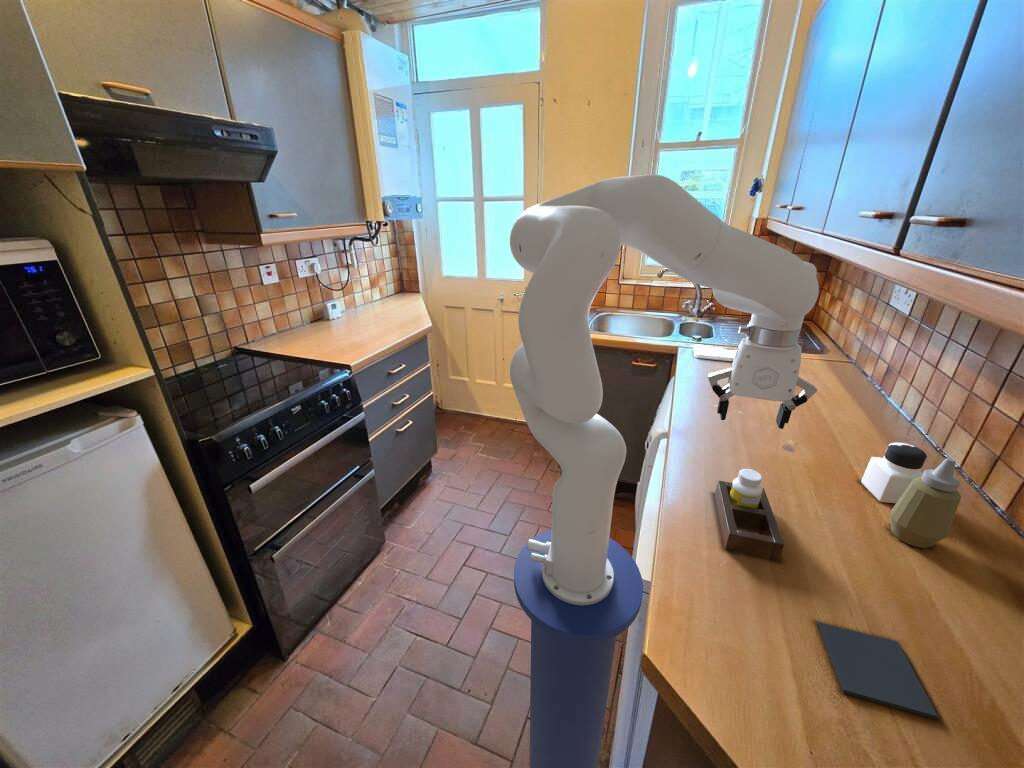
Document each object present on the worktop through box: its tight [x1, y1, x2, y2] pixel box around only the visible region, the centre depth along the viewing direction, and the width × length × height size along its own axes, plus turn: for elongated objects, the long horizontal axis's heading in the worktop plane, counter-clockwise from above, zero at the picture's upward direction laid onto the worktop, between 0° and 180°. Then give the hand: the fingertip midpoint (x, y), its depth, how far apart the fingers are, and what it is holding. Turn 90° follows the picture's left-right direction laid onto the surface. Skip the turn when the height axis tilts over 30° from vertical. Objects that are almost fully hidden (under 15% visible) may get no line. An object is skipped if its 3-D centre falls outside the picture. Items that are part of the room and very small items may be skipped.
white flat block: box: [693, 344, 737, 363], centre depth 170 cm, size 13×20×2 cm, turn 69°
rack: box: [714, 480, 785, 562], centre depth 81 cm, size 9×16×4 cm, turn 162°
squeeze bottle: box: [889, 457, 962, 549], centre depth 75 cm, size 8×8×18 cm
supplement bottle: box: [729, 468, 764, 509], centre depth 83 cm, size 5×5×10 cm
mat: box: [817, 622, 939, 720], centre depth 57 cm, size 10×10×1 cm
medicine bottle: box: [860, 442, 928, 504], centre depth 87 cm, size 7×7×12 cm
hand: (750, 421), depth 77 cm, fingers open, 9 cm apart
